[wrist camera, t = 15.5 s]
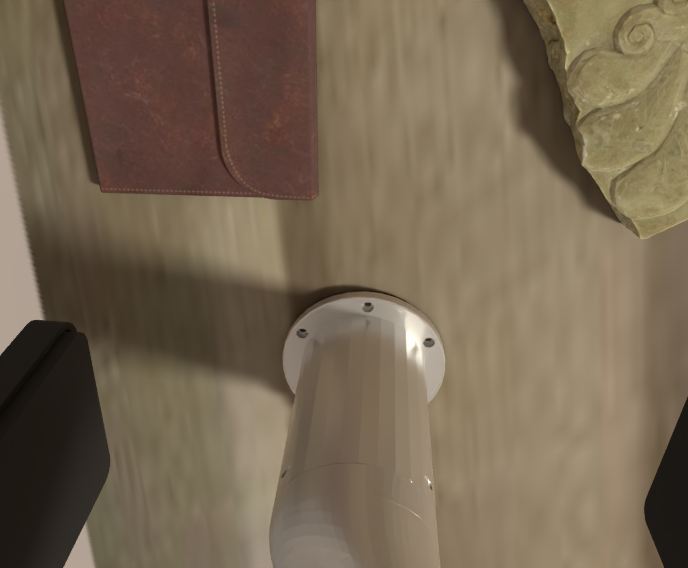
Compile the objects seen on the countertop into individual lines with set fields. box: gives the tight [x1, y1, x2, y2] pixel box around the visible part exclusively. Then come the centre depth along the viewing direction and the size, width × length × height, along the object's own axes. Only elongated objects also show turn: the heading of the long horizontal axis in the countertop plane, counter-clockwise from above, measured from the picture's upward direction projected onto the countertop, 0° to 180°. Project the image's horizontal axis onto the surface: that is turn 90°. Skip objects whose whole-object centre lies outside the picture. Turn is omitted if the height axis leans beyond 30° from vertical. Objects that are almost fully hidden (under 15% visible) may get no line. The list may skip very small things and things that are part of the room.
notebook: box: [63, 0, 319, 200], centre depth 39 cm, size 15×20×2 cm
